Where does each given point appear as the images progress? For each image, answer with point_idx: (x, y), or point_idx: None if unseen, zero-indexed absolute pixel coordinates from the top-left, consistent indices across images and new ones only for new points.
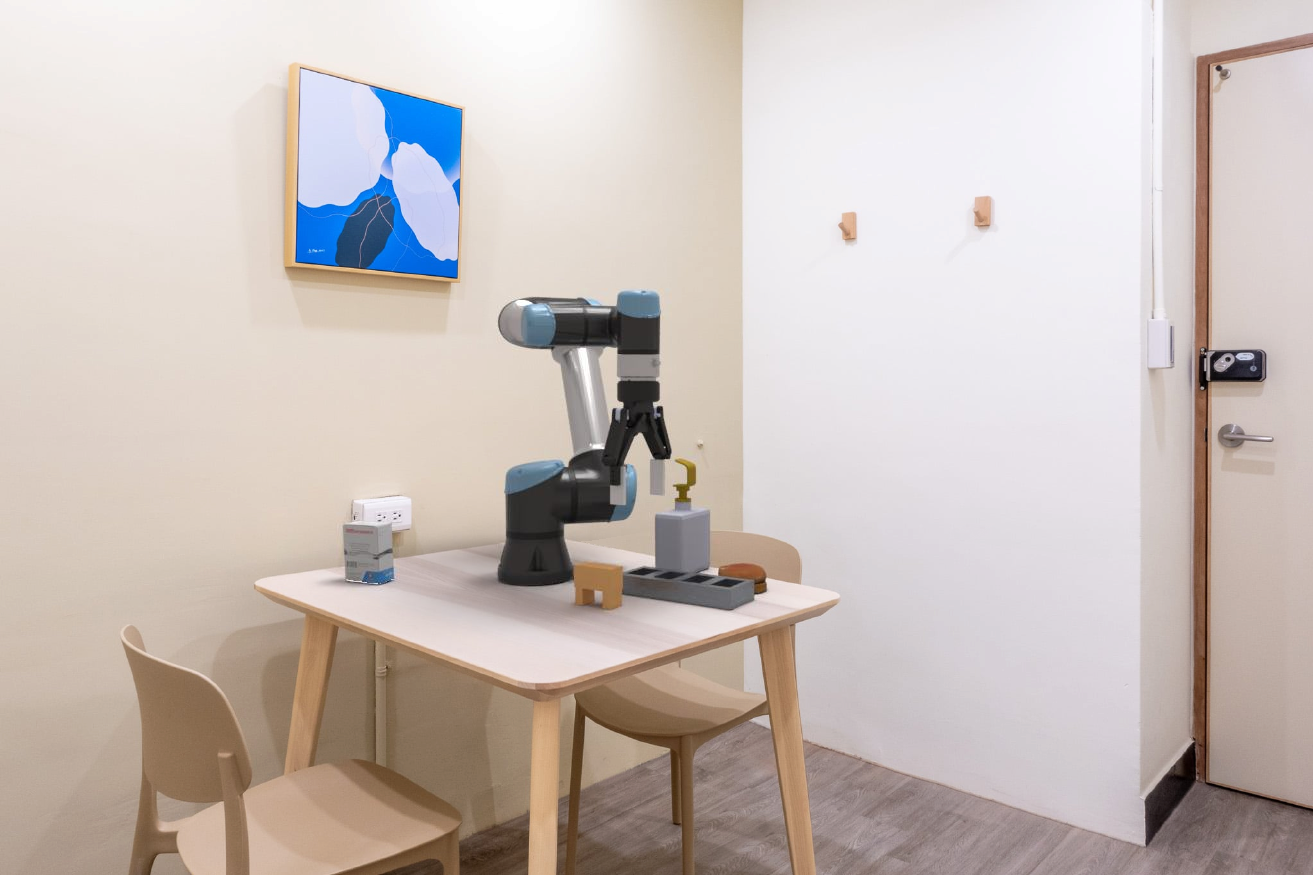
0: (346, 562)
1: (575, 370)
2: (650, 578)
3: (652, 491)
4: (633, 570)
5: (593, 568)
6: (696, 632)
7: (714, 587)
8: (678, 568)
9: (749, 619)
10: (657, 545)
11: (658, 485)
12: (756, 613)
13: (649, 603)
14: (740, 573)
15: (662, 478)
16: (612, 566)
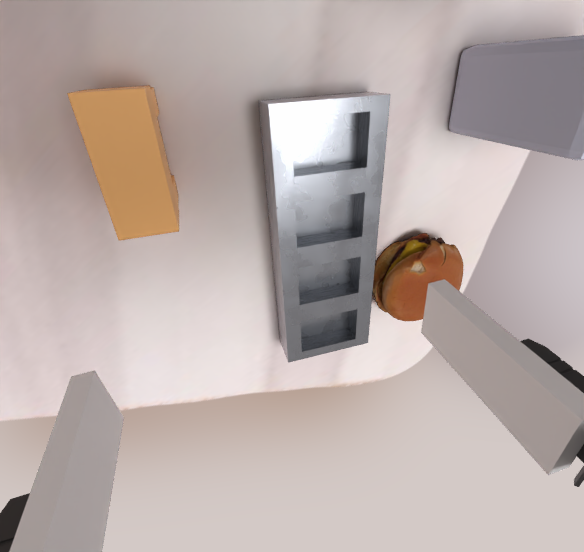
0: None
1: None
2: (280, 209)
3: (435, 301)
4: (331, 111)
5: (98, 180)
6: (144, 386)
7: (288, 338)
8: (460, 127)
9: (253, 382)
10: (518, 56)
11: (450, 344)
12: (285, 369)
13: (231, 225)
14: (394, 308)
15: (470, 384)
16: (153, 214)
